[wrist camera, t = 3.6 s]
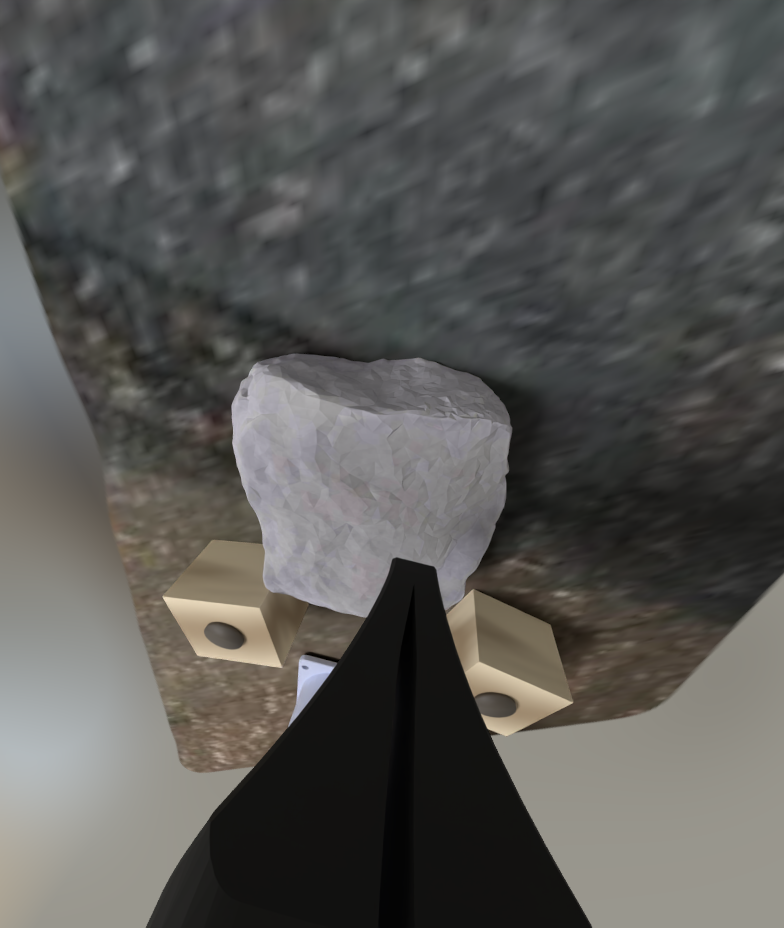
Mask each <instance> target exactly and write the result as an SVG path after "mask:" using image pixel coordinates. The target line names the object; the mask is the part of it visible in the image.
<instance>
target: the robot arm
mask: <svg viewBox="0 0 784 928" xmlns="http://www.w3.org/2000/svg"><path fill="white" fill-rule="evenodd" d="M146 928H592V926H591V924H590V922H589V921H588V919H587V917H586V915H585V913H584V912H583V910H582V908H581V906H580V905H579V903H578V901H577V899H576V898H575V896H574V894H573V893H572V891H571V889H570V887H569V886H568V884H567V882H566V880H565V879H564V877H563V875H562V873H561V872H560V870H559V868H558V866H557V864H556V863H555V861H554V859H553V857H552V856H551V854H550V852H549V850H548V848H547V847H546V845H545V843H544V841H543V839H542V837H541V835H540V834H539V832H538V830H537V828H536V826H535V824H534V822H533V820H532V819H531V817H530V815H529V813H528V811H527V809H526V807H525V806H524V804H523V802H522V800H521V798H520V796H519V794H518V792H517V789H516V787H515V785H514V783H513V782H512V779H511V777H510V775H509V773H508V771H507V769H506V767H505V765H504V764H503V761H502V759H501V757H500V756H499V753H498V751H497V749H496V747H495V745H494V742H493V740H492V738H491V736H490V733H489V731H488V729H487V727H486V724H485V722H484V720H483V718H482V715H481V713H480V710H479V708H478V706H477V703H476V701H475V698H474V696H473V693H472V691H471V688H470V686H469V683H468V680H467V678H466V675H465V672H464V670H463V667H462V664H461V661H460V658H459V655H458V652H457V649H456V646H455V643H454V640H453V637H452V633H451V630H450V627H449V623H448V620H447V616H446V613H445V609H444V605H443V601H442V597H441V592H440V588H439V582H438V577H437V570H436V569H435V567H434V566H430V565H426V564H422V563H418V562H414V561H410V560H406V559H402V558H398V557H396V558H393V559H392V562H391V566H390V570H389V573H388V576H387V578H386V581H385V583H384V585H383V587H382V589H381V592H380V594H379V596H378V598H377V599H376V601H375V603H374V605H373V607H372V609H371V611H370V613H369V614H368V616H367V618H366V620H365V621H364V623H363V624H362V626H361V628H360V629H359V631H358V633H357V634H356V636H355V637H354V639H353V641H352V642H351V644H350V645H349V647H348V648H347V650H346V651H345V653H344V654H343V656H342V657H341V659H340V660H339V662H338V663H336V662H332V661H329V660H325V659H321V658H317V657H313V656H309V655H303V656H301V658H300V661H299V673H298V689H297V703H296V706H295V709H294V712H293V715H292V717H291V720H290V723H289V726H288V728H287V729H286V730H285V732H284V733H283V734H282V735H281V736H280V738H279V739H278V740H277V741H276V742H275V744H274V745H273V746H272V747H271V748H270V750H269V751H268V752H267V753H266V754H265V755H264V757H263V758H262V759H261V760H260V761H259V762H258V763H257V765H256V766H255V767H254V768H253V769H252V770H251V771H250V772H249V773H248V774H247V776H246V777H245V778H244V779H243V780H242V781H241V782H240V783H239V784H238V786H237V787H236V788H235V789H234V790H233V791H232V792H231V793H230V794H229V795H228V797H227V798H226V799H225V800H224V801H223V802H222V803H221V804H220V805H219V806H218V808H217V809H216V810H215V811H214V812H213V814H212V815H211V817H210V818H209V820H208V821H207V823H206V824H205V826H204V827H203V828H202V830H201V831H200V832H199V834H198V836H197V837H196V838H195V839H194V841H193V842H192V844H191V846H190V847H189V848H188V850H187V851H186V853H185V854H184V855H183V857H182V858H181V860H180V862H179V863H178V865H177V866H176V868H175V870H174V871H173V873H172V875H171V876H170V878H169V880H168V882H167V884H166V886H165V888H164V890H163V892H162V894H161V896H160V898H159V900H158V902H157V905H156V907H155V909H154V911H153V914H152V916H151V918H150V920H149V922H148V924H147V926H146Z"/></svg>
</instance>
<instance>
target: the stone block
mask: <svg viewBox="0 0 784 928" xmlns="http://www.w3.org/2000/svg"><path fill="white" fill-rule="evenodd" d="M232 423H233V448H234V453H235V457H236V462H237V466H238V469H239V472H240V475H241V479H242V485H243V487H244V489H245V491H246V495H247V498H248V501H249V503H250V505H251V506H252V508H253V509H254V511H255V512H256V514H257V517H258V519H259V522H260V525H261V529H262V533H263V547H264V549H265V558H264V568H263V581H264V584H265V587H266V588H267V589H268V590H270V591H271V592H273V593H280V594H286V595H290V596H293V597H295V598H297V599H300V600H302V601H306V602H309V603H311V604H314V605H317V606H322V607H327V608H330V609H332V610H335V611H337V612H341V613H347V614H354V615H357V616H361V617H367V616H368V614H369V613H370V611H371V609H372V607H373V605H374V603H375V601H376V599H377V598H378V596H379V594H380V592H381V589H382V587H383V585H384V583H385V581H386V578H387V576H388V573H389V570H390V566H391V562H392V559H393V558H396V557H398V558H402V559H406V560H410V561H414V562H418V563H422V564H426V565H430V566H434V567H435V569H436V570H437V577H438V582H439V588H440V592H441V597H442V601H443V605H444V609H445V610H447V609H448V608H450V607H451V606H452V605H454V604H456V603H458V602H459V601H461V599H462V598H463V596H464V593H465V585H466V579H467V577H468V576H469V575H471V574H472V573H473V572H474V571H475V570H476V568H477V567H478V565H479V563H480V561H481V559H482V557H483V555H484V553H485V552H486V550H487V548H488V546H489V543H490V541H491V538H492V535H493V532H494V530H495V523H496V522H497V520H498V518H499V516H500V514H501V512H502V510H503V508H504V505H505V500H506V478H505V475H506V474H507V473H508V472H509V465H508V461H507V456H508V453H509V445H510V439H511V435H512V427H511V425H510V417H509V414H508V412H507V410H506V407H505V404H504V403H503V402H501V401H500V398H499V397H498V396H497V395H496V394H495V393H494V392H493V391H492V390H491V389H490V388H489V387H488V386H487V385H486V384H484V383H483V381H482V380H481V379H480V378H479V377H476V376H474V375H472V374H469V373H467V372H461V371H457V370H454V369H451V368H448V367H446V366H442V365H440V364H438V363H436V362H434V361H428V360H425V359H422V358H415V359H402V360H387V359H380V360H377V361H374V362H370V363H365V362H359V361H350V360H347V359H344V358H337V357H331V356H320V355H310V354H289V355H286V356H280V357H277V358H271V359H267V360H264V361H260V362H258V363H256V364H255V365H254V366H253V368H252V370H251V371H250V373H249V376H248V378H246V379H244V380H242V382H241V385H240V389H239V391H238V393H237V395H236V396H235V398H234V401H233V403H232Z"/></svg>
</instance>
